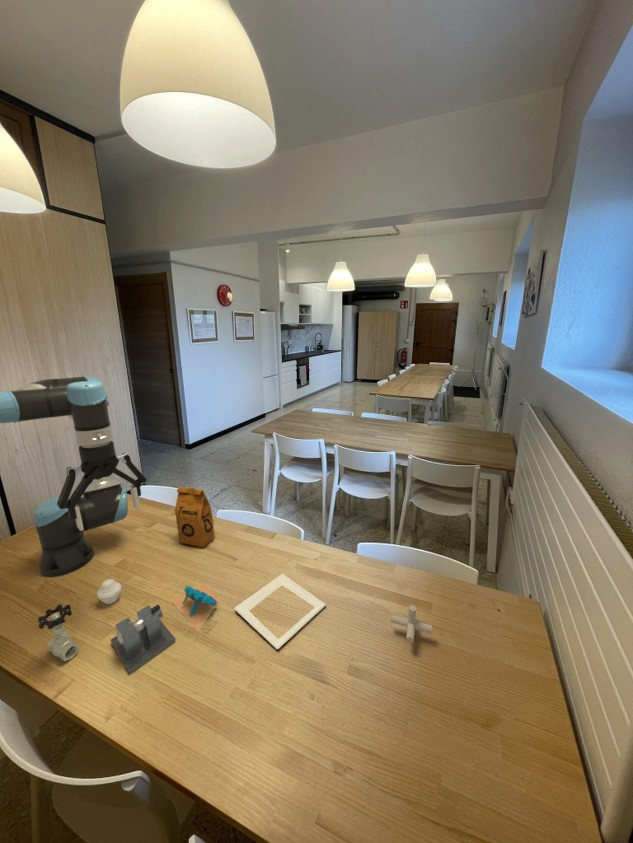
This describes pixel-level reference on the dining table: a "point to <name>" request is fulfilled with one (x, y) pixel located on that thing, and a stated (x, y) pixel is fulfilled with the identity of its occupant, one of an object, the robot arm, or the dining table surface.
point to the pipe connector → (411, 624)
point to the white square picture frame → (267, 590)
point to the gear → (197, 598)
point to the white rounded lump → (109, 591)
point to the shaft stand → (141, 638)
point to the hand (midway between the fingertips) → (110, 517)
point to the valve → (59, 633)
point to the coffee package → (194, 517)
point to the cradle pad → (201, 610)
